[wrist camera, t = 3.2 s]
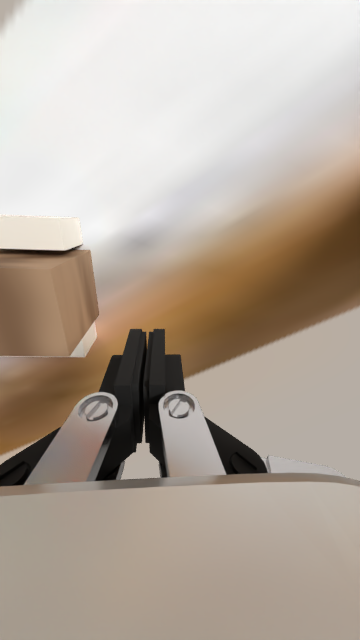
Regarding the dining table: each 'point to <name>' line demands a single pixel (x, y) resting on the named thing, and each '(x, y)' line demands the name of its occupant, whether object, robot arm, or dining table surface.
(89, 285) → the walnut block
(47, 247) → the chute rail
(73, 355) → the chute rail
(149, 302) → the dining table surface
